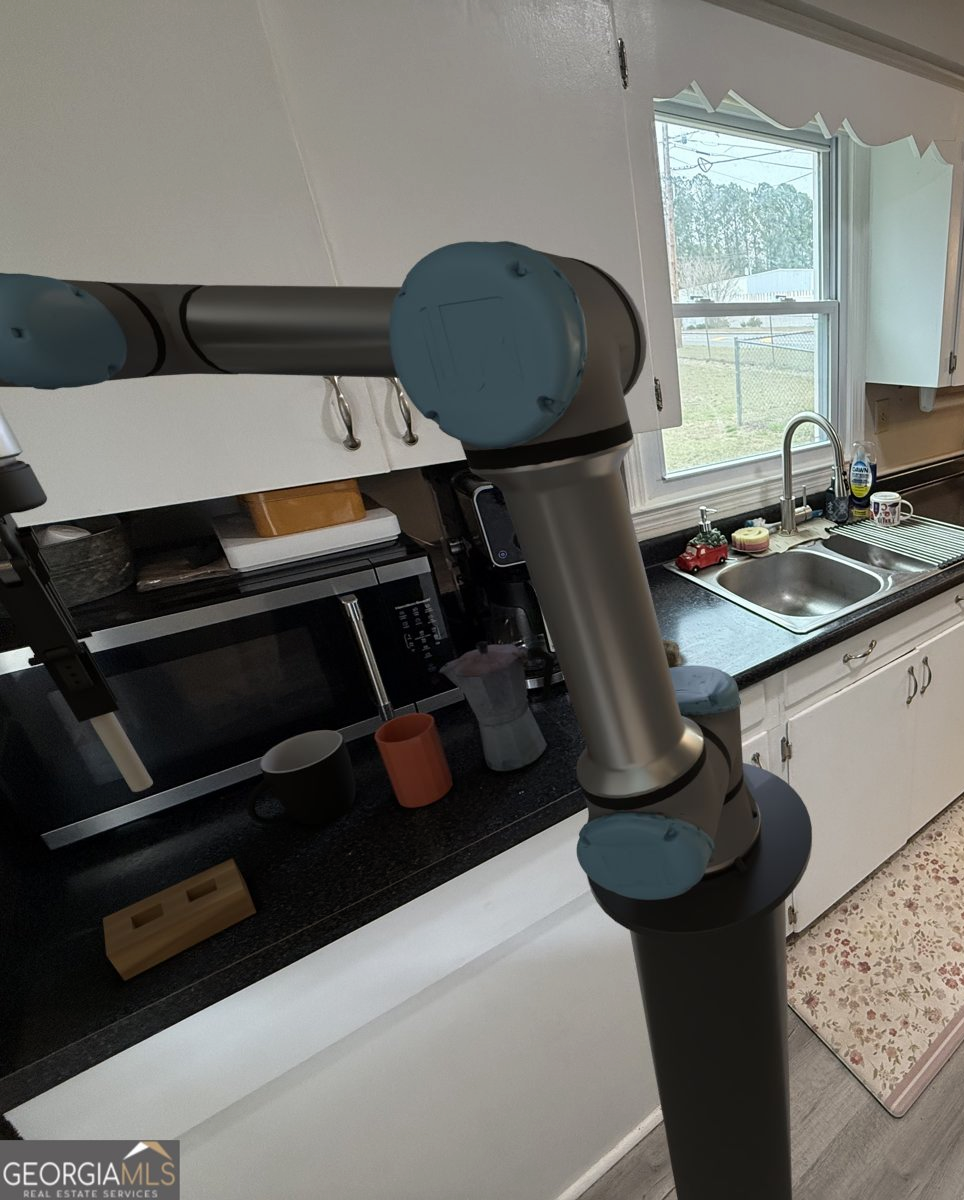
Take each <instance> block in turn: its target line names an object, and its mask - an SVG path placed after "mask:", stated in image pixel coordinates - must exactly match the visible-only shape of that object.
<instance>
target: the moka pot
mask: <svg viewBox="0 0 964 1200" xmlns="http://www.w3.org/2000/svg"><path fill="white" fill-rule="evenodd" d="M475 647H476V649H473V650H471V651H470V650H469V651H467V652H465V653H464V654H462V655H461V656H460V657H459V658H457V659H453V660H451V661H448V662H447V663H445V665H443V666H442V667H440V669H439V671H438V674H442V675H445V677H446V678H447V679H448V680H450V681H451V682H452V683H453V684H454V685H455V686H456V687H457V689H459V690H460V691H461V692H462V693H463V695H464V696H465V698H466V700H467V702H468V704H469V706H470V708H471V710H472V712H473V713H474V714H475V718H476V719H477V721H478V726H479V727H478V728H479V731H480V738H481V743H482V749H483V755H484V759H485V762H486V765H487V767H488V768H489V769H491V770H494V771H498V772H510V771H513V770H518V769H521V768H523V767H526V766H528V765H530V764H532V763H533V762H534V761H536V760H537V759H538V758H540V757H541V755H543V754H544V752H545V751H546V748H547V746H548V744H547V742H546V740H545V738H544V736H543V733H542V731H541V730H540V727H539V725H538V723H537V720H536V719H535V717H534V715H533V712H532V711H531V709H530V707H529V699H528V698H527V697H528V688H527V682H526V681H527V680H526V674H525V667H524V663H528V662H532V661H534V660H535V659H537V658H541V659H543V660H544V665H543V666H544V667H543V668H544V669H543V671H544V672H543V684H542V685H543V687H542V691H541V695H539V696H534V697H533V698H532V699H531V700H532V703H534V704H539V703H543V702H546V701H548V700H550V695H551V689H552V683H553V682H552V681H553V679H552V678H553V675H554V668H555V659H554V656H553V655H551V654H549V653H548V652H547V651H544V650H543V649H542V648H539V646H538V645H534V646H531V647H529V648H528V647H524V648H517V646H516V645H515V644H490V645H489V644H488V641H487V640H483V641H478V642H477V643H475Z"/></svg>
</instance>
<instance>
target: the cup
mask: <svg viewBox="0 0 964 1200" xmlns="http://www.w3.org/2000/svg"><path fill="white" fill-rule="evenodd" d="M436 724H437V723H436V721H435V718H434V716H432V715H431V714H428V713H424V712H412V713H408V714H404V715H400V716H397V717H395V718H393V719H390V720H388V721H387V722H384V723H383V724H382V725H380V727H379V728H378V729H377V730H376V731H375V733H374V736H373V737H374V741H375V744H376V746H377V749H378V752H379V754H380V755H379V756H380V757H381V760H382V763H383V766H384V769H385V771H386V774H387V777H388V779H389V783H390V786H391V788H392V791H393V793H394V796H395V799H396V800H397V802H398V804H399V805H400V806H402V807H404V808H420V807H424V806H428V805H430V804H432V803H434V802H437V801H438V800H440V799H441V798H443V797H444V796H445V795H447V794H448V792H449V791H451V789H452V786H453V777H452V773H451V770H450V766H449V763H448V760H447V757H446V754H445V750H444V746H443V744H442V740H441V738H440V734H439V731H438V727H437V725H436Z"/></svg>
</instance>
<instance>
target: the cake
mask: <svg viewBox="0 0 964 1200" xmlns="http://www.w3.org/2000/svg"><path fill="white" fill-rule="evenodd" d="M662 641H663V645H664V649H665V653H666V657H667V661H668V665H669V668H673V667H679V666H682V665H683V664H684V658H683V656H682V655H680V647H679V644H678V643H677V642H676V641H672V640H669V639H662Z"/></svg>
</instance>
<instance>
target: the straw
mask: <svg viewBox="0 0 964 1200" xmlns="http://www.w3.org/2000/svg"><path fill="white" fill-rule="evenodd" d="M88 721H89V722H90V724H91V725H92V727H93V728H94V730H95V732H96V734H97V735H98V737H99V739H100V740H101V742H102V743H103V745H104V747H105V749H106V750H107V752H108V754H109V755H110V758H112V760H113V762H114V764H115V766H116V767H117V769H118V770H119V772H120V774H121V775H122V777H123V778H124V780H125V782H126V783H127V785H128V788H129V789H130V791H131V792H133V793H137V792H138V793H139V792H143V791H144V790H147V789H149V788H151V787H152V786H153V784H154V781H153V779H152V777H151V776H150V774H149V772H148V771H147V769H146V767H145V766H144V765H145V764H144V763H143V762H142V760H141V758H140V756H139V754H138V753H137V751H136V749H135V748H134V746H133V745H132V742H131V741H130V739H129V738H128V736H127V734H126V732H125V731H124V729H123V727H122V725H121V723H120V722H119V720H118V718H117V717H116V715H115V712H111V713H108V714H105V715H101V716H98V717H95V718H92V719H89V720H88Z"/></svg>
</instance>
